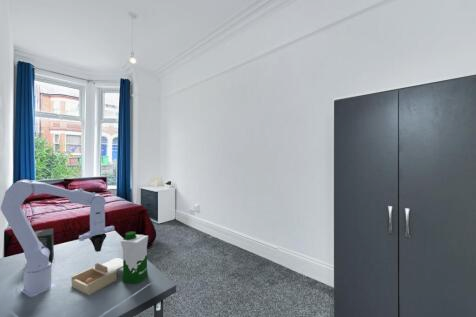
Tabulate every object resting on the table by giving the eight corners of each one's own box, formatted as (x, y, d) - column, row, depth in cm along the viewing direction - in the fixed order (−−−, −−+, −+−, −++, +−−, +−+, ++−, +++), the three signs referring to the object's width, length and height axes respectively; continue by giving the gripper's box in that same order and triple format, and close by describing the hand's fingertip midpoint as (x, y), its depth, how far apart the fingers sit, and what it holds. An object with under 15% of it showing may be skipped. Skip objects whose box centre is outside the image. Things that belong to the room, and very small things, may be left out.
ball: (83, 286, 86) (83, 279, 86) (91, 282, 89) (91, 275, 89) (87, 288, 85) (87, 281, 85) (95, 284, 88) (95, 277, 88)
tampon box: (30, 260, 110) (29, 231, 109) (54, 254, 115) (53, 227, 115) (26, 269, 101) (25, 238, 100) (52, 263, 106) (51, 233, 106)
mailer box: (71, 287, 87) (71, 276, 87) (99, 274, 96) (99, 264, 96) (88, 296, 81) (88, 284, 81) (116, 281, 91) (116, 270, 91)
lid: (93, 269, 93) (92, 263, 93) (116, 258, 102) (116, 253, 102) (106, 275, 88) (106, 269, 88) (130, 263, 98) (130, 257, 98)
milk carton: (133, 272, 97) (132, 229, 97) (151, 275, 96) (150, 230, 95) (118, 284, 89) (118, 236, 88) (138, 287, 87) (137, 238, 87)
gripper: (85, 227, 89) (85, 259, 89) (118, 218, 102) (118, 246, 102) (75, 224, 92) (76, 256, 92) (109, 216, 105) (109, 243, 105)
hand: (97, 250), depth 98 cm, fingers closed
